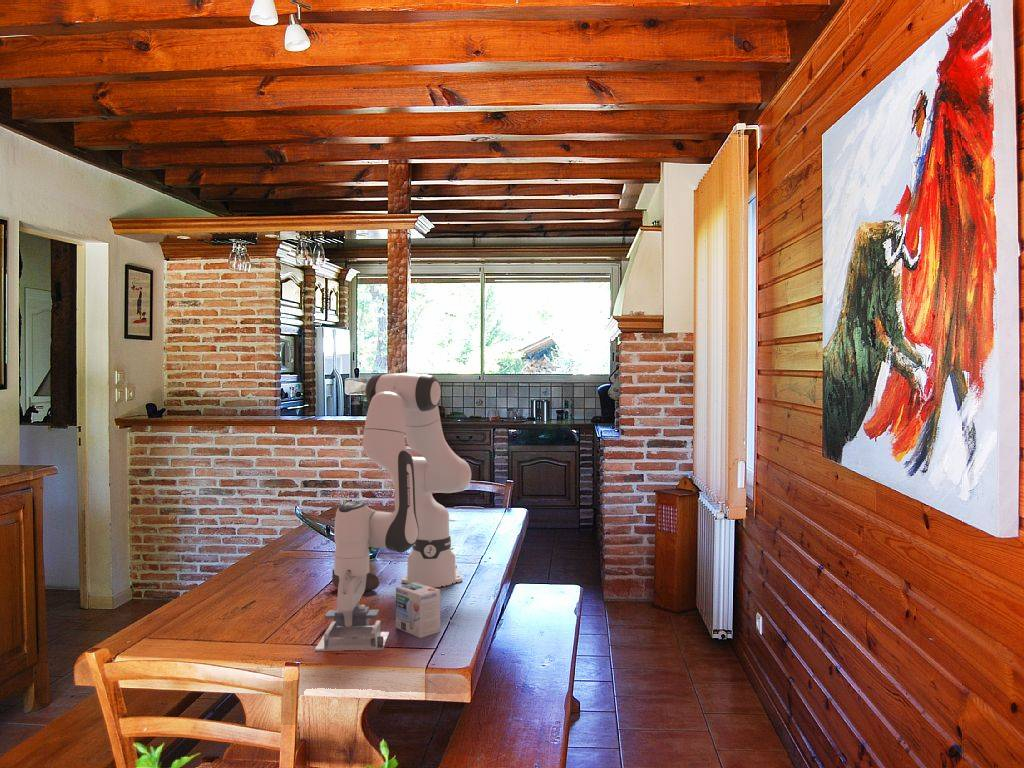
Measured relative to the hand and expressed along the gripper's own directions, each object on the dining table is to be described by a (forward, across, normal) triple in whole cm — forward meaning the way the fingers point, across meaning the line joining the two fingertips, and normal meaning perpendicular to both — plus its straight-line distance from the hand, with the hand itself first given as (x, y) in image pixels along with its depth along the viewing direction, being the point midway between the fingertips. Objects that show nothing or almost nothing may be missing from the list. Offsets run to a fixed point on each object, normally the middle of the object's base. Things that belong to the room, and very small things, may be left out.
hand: (351, 620), depth 194 cm
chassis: (+3, -9, -2) cm, 10 cm away
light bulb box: (+2, -1, -17) cm, 17 cm away
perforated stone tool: (+2, +35, +5) cm, 35 cm away
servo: (+2, +1, 0) cm, 3 cm away
